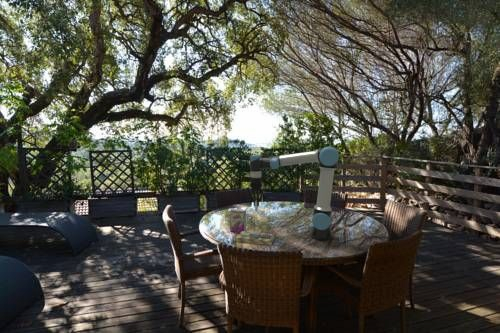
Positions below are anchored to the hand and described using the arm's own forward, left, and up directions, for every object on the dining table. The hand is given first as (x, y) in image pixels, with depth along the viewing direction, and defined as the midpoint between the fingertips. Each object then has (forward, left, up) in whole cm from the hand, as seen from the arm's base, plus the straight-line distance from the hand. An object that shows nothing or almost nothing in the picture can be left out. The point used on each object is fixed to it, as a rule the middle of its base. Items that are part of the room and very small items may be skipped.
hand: (256, 210), depth 218 cm
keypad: (-1, +6, -19) cm, 20 cm away
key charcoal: (-8, +6, -18) cm, 21 cm away
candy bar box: (+16, -8, -19) cm, 26 cm away
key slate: (-1, +6, -17) cm, 18 cm away
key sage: (+6, +6, -18) cm, 20 cm away
